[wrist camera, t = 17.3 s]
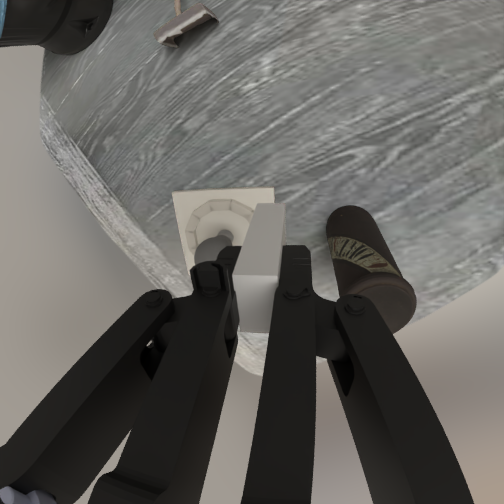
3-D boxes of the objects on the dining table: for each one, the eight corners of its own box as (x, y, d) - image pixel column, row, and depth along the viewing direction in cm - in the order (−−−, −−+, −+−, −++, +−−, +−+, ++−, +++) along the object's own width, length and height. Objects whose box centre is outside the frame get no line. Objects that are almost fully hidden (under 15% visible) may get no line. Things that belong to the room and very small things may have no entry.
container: (350, 192, 40) (386, 266, 23) (388, 228, 42) (433, 312, 25) (312, 231, 44) (319, 322, 27) (351, 262, 46) (373, 356, 29)
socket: (190, 273, 52) (187, 279, 50) (173, 190, 44) (169, 194, 42) (277, 275, 49) (276, 282, 48) (274, 186, 41) (273, 190, 40)
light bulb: (204, 243, 47) (184, 279, 39) (213, 213, 44) (193, 244, 35) (238, 256, 47) (225, 294, 39) (249, 226, 44) (238, 261, 36)
